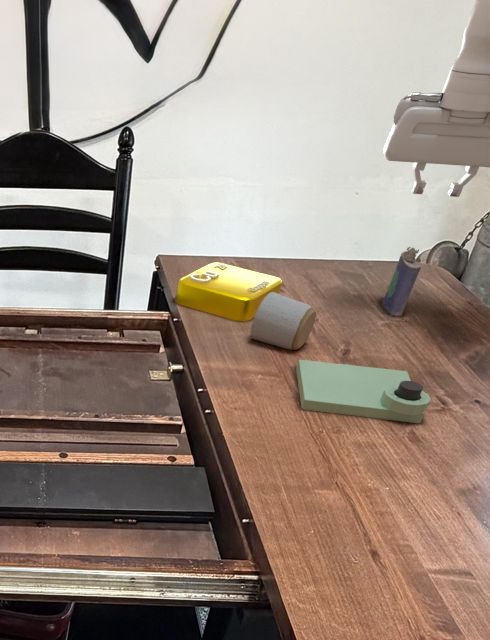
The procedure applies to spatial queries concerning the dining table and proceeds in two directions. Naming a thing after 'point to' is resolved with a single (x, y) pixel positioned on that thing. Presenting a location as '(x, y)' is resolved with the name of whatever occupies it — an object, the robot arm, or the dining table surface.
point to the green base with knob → (357, 391)
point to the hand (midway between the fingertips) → (434, 194)
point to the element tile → (226, 291)
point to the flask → (401, 283)
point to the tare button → (409, 390)
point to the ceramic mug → (283, 322)
